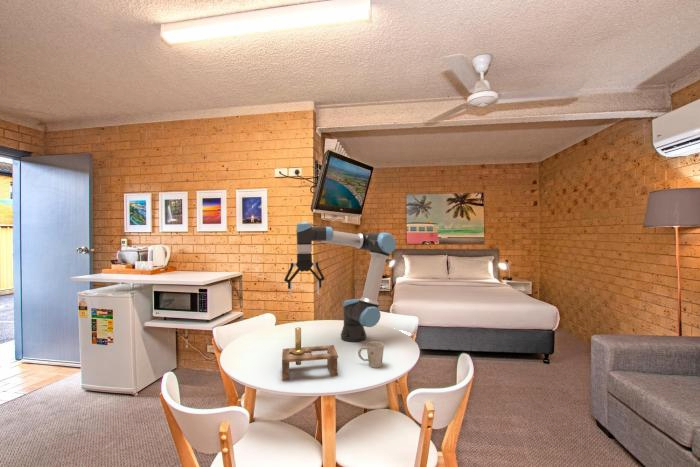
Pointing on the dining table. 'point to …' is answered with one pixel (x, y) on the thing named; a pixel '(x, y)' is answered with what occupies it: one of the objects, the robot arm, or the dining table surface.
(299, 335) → the pin
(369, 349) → the mug
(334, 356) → the keyhole shelf
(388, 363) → the dining table surface
